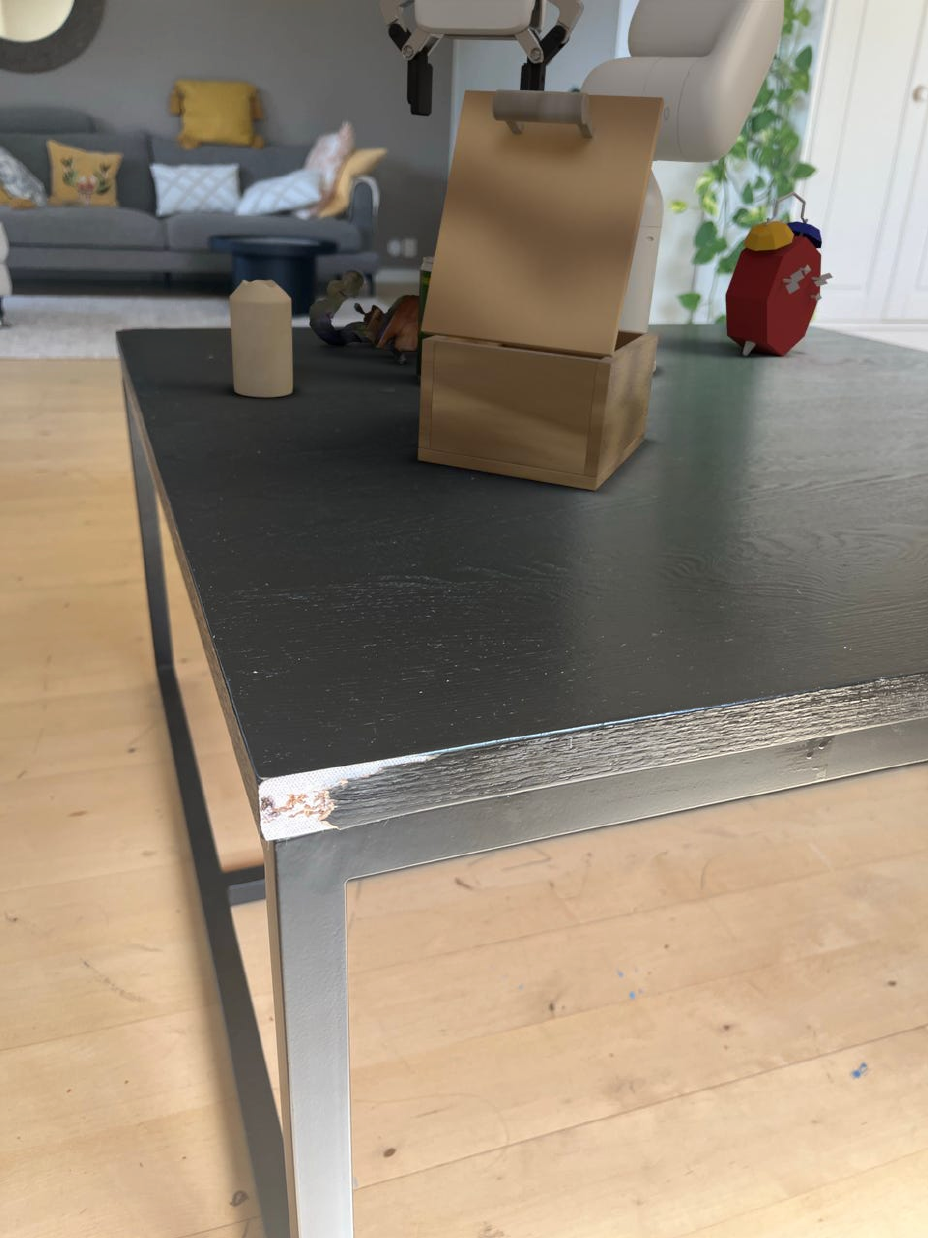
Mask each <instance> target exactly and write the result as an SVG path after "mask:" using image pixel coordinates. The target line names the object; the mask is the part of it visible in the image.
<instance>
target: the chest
mask: <svg viewBox="0 0 928 1238" xmlns="http://www.w3.org/2000/svg"><path fill="white" fill-rule="evenodd" d="M658 340H659V333H653V332H647V333H646V332H637V331H629V330H620V329H619V330H618V335H617V340H616V344H615V349H614V354H613V357H612V358H611V357H603V356H595V355H587V354H579V353H571V352H563V351H556V350H548V349H540V348H532V347H524V346H516V345H508V344H500V343H492V342H484V341H477V340H469V339H461V338H453V337H445V336H437V335H435V336H432V337H429V338H426V339H423V340H422V366H421V382H420V397H419V418H418V419H419V420H418V421H419V422H418V424H419V425H418V448H417V460H418V461H421V462H425V463H432V464H438V465H442V466H443V465H444V466H448V467H454V468H459V469H467V470H472V471H478V472H483V473H489V474H494V475H501V476H507V477H513V478H518V479H524V480H530V481H536V482H541V483H547V484H553V485H559V486H565V487H569V488H575V489H582V490H587V491H593V492H595V491H598V490H597V489H599V487H601V485H602V484H604V483H605V482H606V481H607V479H608V478H609V477H611V475H613V474H614V472H615V471H617V469H618V468H619V467H621V465H622V464H623V463H624V462H625V461H626V460H627V459H628V458H629V457H630V456H631V455H632V454H633V453H634V452H635V451H636V450H637V449H638V448H639V447H640V446H641V444H643V442H644V440H645V433H646V432H645V431H646V426H647V418H648V413H649V404H650V398H651V390H652V384H653V378H654V372H653V370H654V363H655V360H656V355H657V348H658V342H659V341H658Z"/></svg>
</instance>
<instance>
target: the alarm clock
mask: <svg viewBox="0 0 928 1238" xmlns="http://www.w3.org/2000/svg"><path fill="white" fill-rule="evenodd" d="M792 196H793V197H794V198H796V199H797V200H798V201H799V202H800V203H802V206H801V211H800V219H801V221H789V222H787V221H788V218H786V217H784V218H783V219H782V220H781V221H779V220H775V219H776V218H777V215H778V209H779V206H780V202H783V201H784V200H786V199H789V198H790V197H792ZM806 205H807V202H806V200H805V199H804V198H802V197H801V196H800V195H799V194H797V193H796V192H795V190H792V191H790V192H789V193H787V194H785V195H783V196H782V197H779V198H778V199H776V201H775V205H774V209H773V215H772V216H771V218H770V217H767V218H766V221H763V222H760V223H758V224H755V225H753V226H752V227H751V228H750V230H749V231H748V233H747V235H746V237H745V239H744V242H743V245H742V246H743V247H744V248H743V249H742V250H741V251H740V253H739V256H738V259H737V262H736V264H735V266H734V270H733V273H732V276H731V278H730V280H729V284H728V286H727V288H726V291H725V294H724V299H725V325H726V329H725V330H726V337H728V338H729V339H730V340H732V341H733V342H734V343H735V344H736V345H738V346H739V347H740V348H741V349H742V350H743V351H742V355H743V356H745V357H747V356H749V354H750V353H751V351H752V352H758V353H764V354H769V355H774V356H780V357H784V356H785V355H786V354H787V353H788V352H789V351H790V350H792V349H793V348H794V347H795V346H796V345H797V344H798V343H799V342H800V341H801V340H803V339H804V338H805V336H806V334H807V331H808V329H809V325H810V323H811V320H812V319H813V315H814V313H815V310H816V307H817V305H818V302H819V301H820V300H821V299H823V297H822V295H821V287H822V286H824V285H827V284H828V283H829V282H828V281H827V280H829V279H833V278H834V277H833V276H832V274H831V273H830V272H828V273H827V272H826V273H824V274H822V253H820V251H819V250H818V249H821V248H822V244H823V240H822V239H823V238H822V235H821V230H820V229H819V228H817V227H816V226H814V225H813V224H810V223H808V222H809V219H808V218H805V217H804V216H805V211H806Z"/></svg>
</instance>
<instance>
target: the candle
mask: <svg viewBox="0 0 928 1238" xmlns="http://www.w3.org/2000/svg"><path fill="white" fill-rule="evenodd" d="M292 311H293V310H292V298H291V296H290V295H289V294H288V293H287V292H286V291H285V290H284V289H283V288H282V287H281V286H280V285H279V284H278V283H277V282H275V281H274V280H273V279H266V280H263V279H255V280H253V281H248V280H246V279H243V280H241V282H240V284H239V285H238V286H237V287H236V288H235V289H234V291H232V293H231V294H230V295H229V314H230V315H229V317H230V337H231V359H232V360H231V361H232V362H231V363H232V377H233V379H232V380H233V381H232V382H233V390H234V392H235V393H236V394H239V395H241V396H246V397H254V398H277V397H284V396H289V395H291V394H292V393H293V391H294V390H293V388H294V387H293V386H294V384H293V383H294V377H293V376H294V373H293V372H294V371H293V370H294V369H293V317H292Z"/></svg>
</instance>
